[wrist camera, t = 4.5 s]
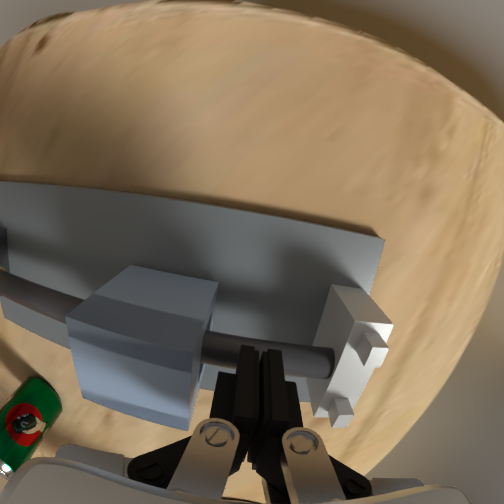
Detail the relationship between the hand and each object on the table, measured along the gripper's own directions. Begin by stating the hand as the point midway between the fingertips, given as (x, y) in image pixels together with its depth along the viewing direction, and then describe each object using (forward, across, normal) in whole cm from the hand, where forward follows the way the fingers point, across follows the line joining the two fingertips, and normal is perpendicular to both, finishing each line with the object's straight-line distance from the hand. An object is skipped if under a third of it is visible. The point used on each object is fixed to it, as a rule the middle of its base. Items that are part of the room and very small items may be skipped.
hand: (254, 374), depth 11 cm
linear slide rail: (+5, +8, 0) cm, 10 cm away
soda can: (+6, +19, +15) cm, 25 cm away
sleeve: (+4, +5, 0) cm, 6 cm away
